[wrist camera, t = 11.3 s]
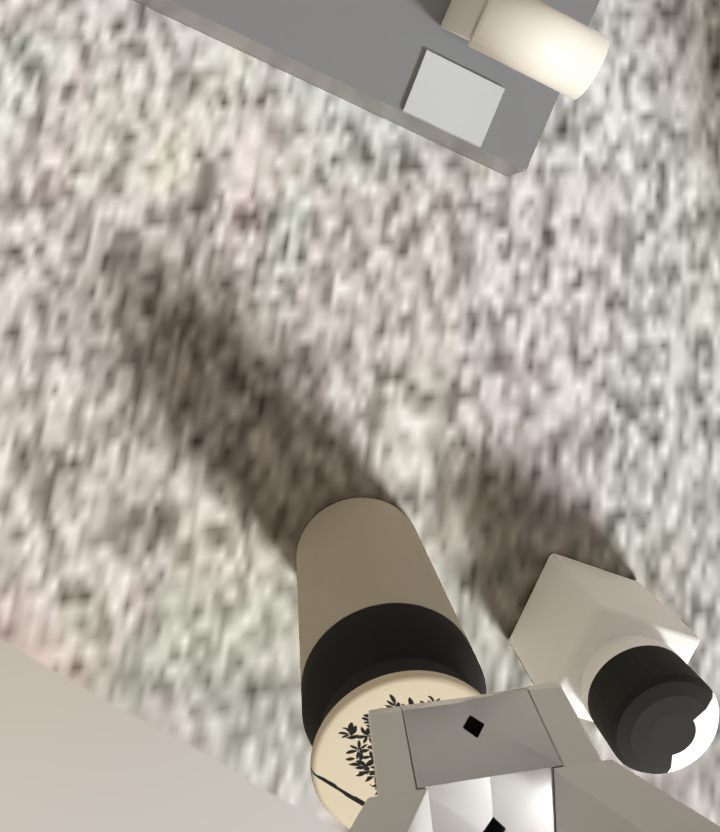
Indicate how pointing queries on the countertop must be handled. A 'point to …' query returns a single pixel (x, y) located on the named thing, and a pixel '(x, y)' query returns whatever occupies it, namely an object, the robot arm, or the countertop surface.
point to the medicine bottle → (618, 664)
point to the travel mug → (369, 640)
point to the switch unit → (393, 66)
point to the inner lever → (531, 40)
